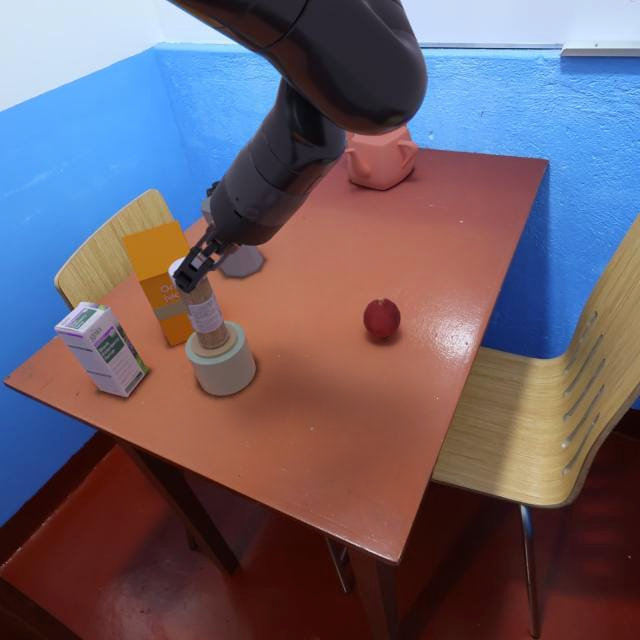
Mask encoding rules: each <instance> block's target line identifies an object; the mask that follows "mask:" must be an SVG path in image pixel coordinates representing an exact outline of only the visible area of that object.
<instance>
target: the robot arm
mask: <svg viewBox="0 0 640 640" xmlns="http://www.w3.org/2000/svg"><path fill="white" fill-rule="evenodd" d="M165 1H166V2H168V3H170V4H171V5H173V6H175V7H176V8H178V9H180V10H181V11H183V12H185V13H186V14H188V15H189V16H191V17H193V18H194V19H196V20H198V21H199V22H201V23H202V24H204V25H206V26H208V27H209V28H211V29H213V30H214V31H216V32H217V33H219V34H221V35H222V36H224V37H226V38H227V39H230V40H231V41H232V42H234V43H236V44H238V45H240V46H241V47H243V48H245V49H246V50H248V51H250V52H251V53H253V54H255V55H257V56H259V57H261V58H262V59H264V60H265V61H267V63H269V65H270V66H272V67H273V69H275V70H276V72H277V73H279V75H280V76H281V77H280V79H279V80H280V81H279V84H278V87H277V91H276V96H275V98H274V102H273V105H272V106H271V107H270V109H269V111H268V112H267V113H266V114H265V116H264V117H263V120H262V121H261V122H260V123H259V125H258V127H257V128H256V130H255V131H254V133H253V134H252V135H251V137H250V138H249V140H247V142H246V143H245V144H244V145H243V146H242V147H241V148H240V150H239V151H238V153H237V154H236V155H235V157H234V159H233V160H232V162H231V163H230V165H229V166H228V168H227V169H226V171H225V172H224V174H223V175H222V177H221V178H220V180H219V181H220V182H219V184H218V185H217V187H216V188H215V190H214V191H213V193H212V195H211V199H210V212H211V215H212V218H213V221H212V222H211V223H210V225H207V227H206V228H205V233H204V234H202V236H201V237H200V238H199V240H197V242H196V243H195V244H194V246H191V248H190V252H189V253H188V255H187V256H186V258H185V259H184V260H183V262H182V263H181V265H180V266H179V267H178V269H177V270H176V271H175V272H174V274H173V276H172V277H173V278H174V279H176V280H175V283H176V286H177V287H178V288H180V289H181V290H182V291H183V292H184V293H185V292H186V293H188V294H189V293H190V292H191V291H192V290H194V289H195V288H196V286H197V284H198V283H199V282H202V281H203V280H204V279H203V278H204V277H205V276H206V275H207V276H208V274H209V273H210V272H216V271H217V270H218V269H220V268H221V265H222V264H223V263H224V262H225V260H226V259H227V258H228V257H229V256H230V255H233V254H234V253H236V252H237V251H238V250H239V248H240V247H241V246H242V245H247V246H257V247H258V246H262V245H264V244H267V243H268V242H269V241H271V240H272V239H273V237H274V236H275V235H276V234H277V233H279V231H280V230H281V229H282V228H283V227H284V226H285V224H287V223H288V222H289V220H290V219H291V218H292V217H293V216H294V215H295V214H296V213H297V212H298V211H299V210H300V209H301V207H302V206H303V205H304V204H305V202H306V201H307V199H308V198H309V196H310V195H311V193H313V191H314V189H316V187H317V186H318V185H319V184H320V183H321V182H322V181H323V179H324V178H325V177H327V176H328V174H329V173H330V172H331V171H332V170H333V168H334V167H335V166H336V165H337V164H338V162H339V161H340V160H341V159H342V157H343V155H344V153H345V151H344V150H346V148H347V137H346V131H348V132H351V133H354V134H355V135H356V134H358V135H364V136H378V135H384V134H387V133H391V132H393V131H395V130H397V129H399V128H401V127H403V126H404V125H406V124H408V123H410V121H412V119H413V118H414V117H415V116H416V114H418V112H419V110H420V109H421V107H422V106H423V104H424V101H425V99H426V95H427V92H428V91H427V90H428V84H429V74H428V73H429V72H428V66H427V63H426V57H425V56H424V54H423V52H422V51H423V50H422V48H421V46H420V43H419V42H418V39H417V37H416V34H415V32H414V30H413V28H412V26H411V23H410V20H409V18H408V16H407V14H406V13H407V12H406V11H405V8H404V6H403V3H402V1H401V0H165ZM205 244H206V245H205ZM204 245H205V247H204V248H203V246H204ZM226 251H227V252H226ZM224 253H225V254H224ZM214 254H215V255H216V256H219V255H223V254H224V255H223V256H222V257H221V258H219V259H218V260H215V259H214V258H213V257H212V256H213V255H214Z"/></svg>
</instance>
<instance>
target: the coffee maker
mask: <svg viewBox="0 0 640 640" xmlns="http://www.w3.org/2000/svg"><path fill="white" fill-rule="evenodd" d="M219 182H220V180H218V181H215V182H213V183H211V187H209V188H207V189H206V191H205V192H206V197H205V198H204V199H202V200H201V207H200V212H201V213H202V216H203V217H204V219H205V222H206V223H207V226H209V225H210V223H211V222H212V221H213V218H212V215H211V212H210V199H211V195H212V193H213V191H214V190H215V188H216V187H217V185H218V184H219ZM226 252H227V251H226ZM224 254H225V253H224ZM224 254H223V255H224ZM223 255H218V257H219V259H220V258H221V257H222V256H223ZM263 263H264V258H263V257H262V255H261V252H260V250H259V248H258V246H247V245H242V246H241V247H240V248H239V250H238V251H237V252H236V253H234V254H233V255H230V256H229V257H228V258H227V259H226V260H225V262H224V263H223V264H222V265H221V266H220V270H221V271H222V272H223V274H224V276H226V277H227V278H237V279H239V278H240V279H243V278H245V277H247V276H250V275H252V274H254V273H257V272H259V270H260V268H261V267H262V265H263Z"/></svg>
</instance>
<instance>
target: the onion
mask: <svg viewBox="0 0 640 640" xmlns="http://www.w3.org/2000/svg"><path fill="white" fill-rule="evenodd" d="M362 317H363V318H362V319H363V320H362V321H363V325H364V327H365V329H366V330H367V332H368V333H369V334H371V335H373V336H376V337H378V338H379V337H382V338H385V337H388V336H391V335H393V334H394V333H396V332H397V330H398V329H399V327H400V325H401V320H402V319H401V317H402V315H401V311H400V309H399V307H398V306H397V304H396V303H395V302H394V301H392V300H391V299H389V298H384V297H377V298H376V299H373V300H372V301H370V302H369V303H368V304H367V305H366V307H365V309H364V311H363V316H362Z"/></svg>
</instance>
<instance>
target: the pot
mask: <svg viewBox="0 0 640 640" xmlns="http://www.w3.org/2000/svg"><path fill="white" fill-rule="evenodd" d="M407 124H408V123H407ZM407 124H406V125H404V126H403V127H401V128H399V129H397V130H395V131H393V132H391V133H387V134H384V135H378V136H364V135H358V134H354V133H351V132H348V131H346V146H347V148H345V150H344V153H347V176H348V177H349V180H350V181H351V182H352V183H353V184H357V185H359V186H363V187H367V188H370V189H374V190H379V191H384V190H385V191H386V190H388V189H390V188H392V187H393V186H396V185H397V184H398V183H400V182H401V181H403V180H404V179H405V178H406V177H407V176H408V175H410V173H411V172H412V170H413V168H414V165H415V162H416V159H415V158H416V156H417V155H418V152H419V148H420V147H419V145H418V143H416V142H415V141H413V139H412V136H411V133H410V130H409V128H408V125H407Z"/></svg>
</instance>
